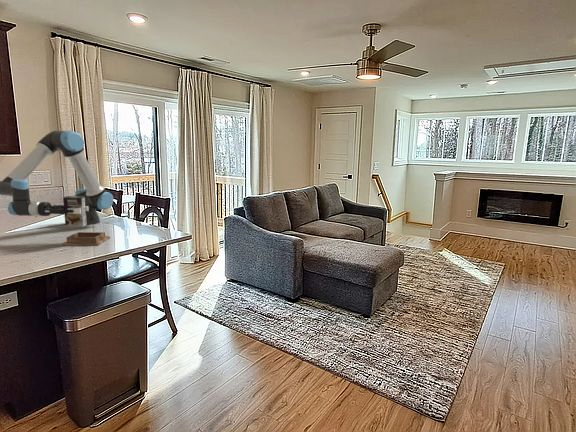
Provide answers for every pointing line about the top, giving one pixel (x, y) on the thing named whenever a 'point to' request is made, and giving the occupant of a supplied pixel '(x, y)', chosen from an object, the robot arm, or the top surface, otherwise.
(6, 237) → the top surface
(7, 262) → the top surface
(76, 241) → the socket bay
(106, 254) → the top surface
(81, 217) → the coffee box
